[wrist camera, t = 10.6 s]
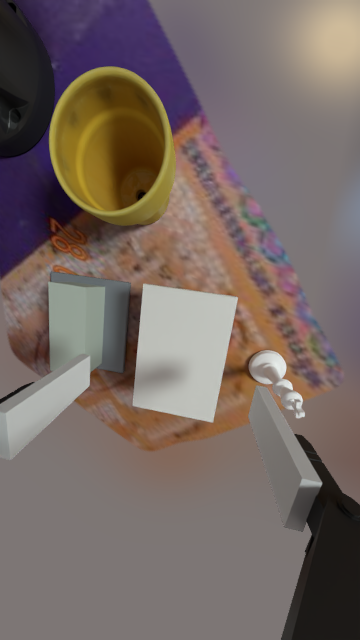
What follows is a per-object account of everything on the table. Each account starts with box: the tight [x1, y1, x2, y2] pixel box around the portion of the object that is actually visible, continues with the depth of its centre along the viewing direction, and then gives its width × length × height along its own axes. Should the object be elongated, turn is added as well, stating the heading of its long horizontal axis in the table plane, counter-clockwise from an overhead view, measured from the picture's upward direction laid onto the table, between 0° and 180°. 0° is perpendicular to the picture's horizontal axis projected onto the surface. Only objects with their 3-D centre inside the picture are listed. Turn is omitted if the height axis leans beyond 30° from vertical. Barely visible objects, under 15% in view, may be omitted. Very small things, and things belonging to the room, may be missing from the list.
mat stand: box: [48, 272, 131, 373], centre depth 26 cm, size 14×12×5 cm
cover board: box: [133, 284, 238, 422], centre depth 22 cm, size 15×10×2 cm, turn 172°
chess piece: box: [249, 350, 305, 418], centre depth 22 cm, size 5×5×10 cm
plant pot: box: [49, 67, 176, 226], centre depth 20 cm, size 10×10×10 cm
